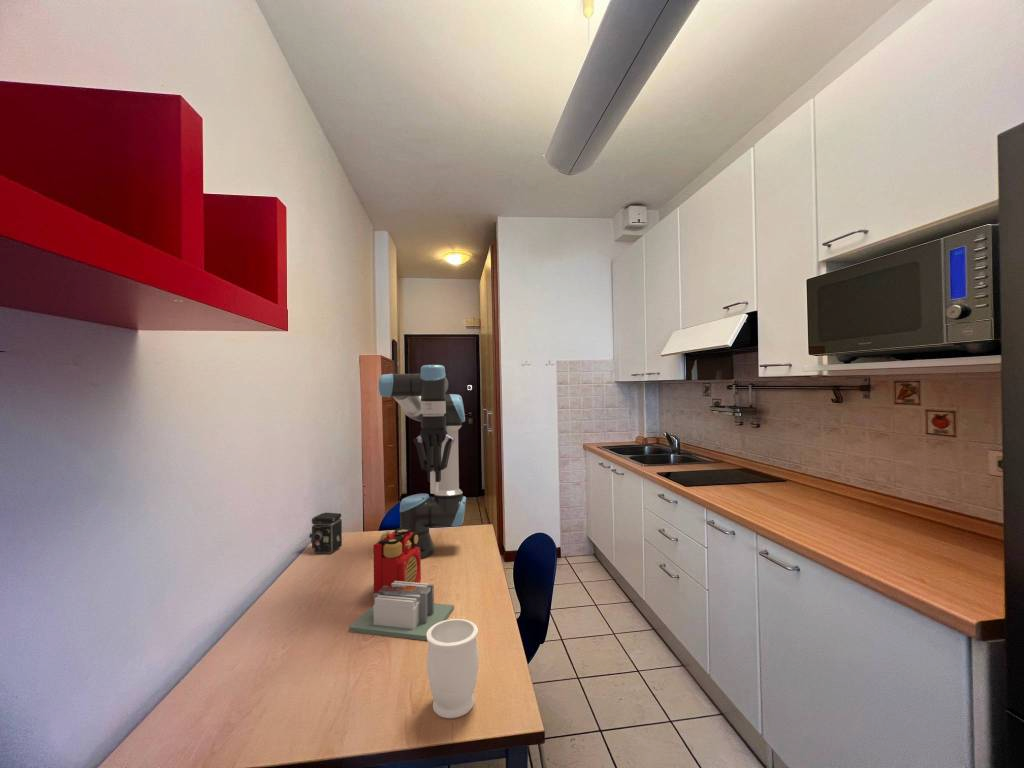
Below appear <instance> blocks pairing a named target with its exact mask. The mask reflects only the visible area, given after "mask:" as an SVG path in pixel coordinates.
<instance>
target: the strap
mask: <svg viewBox="0 0 1024 768" xmlns="http://www.w3.org/2000/svg"><path fill="white" fill-rule="evenodd" d="M421 591H422V592H427V594H428V593H429V592H430V591H431V587H417V586H406V587H383V588H382V589H380V590H379V591H378V592H379V593H381V595H383V594H389V595H420V592H421Z"/></svg>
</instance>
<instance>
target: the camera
mask: <svg viewBox="0 0 1024 768" xmlns="http://www.w3.org/2000/svg"><path fill="white" fill-rule="evenodd" d="M341 517H342V514H341V513H336V512H322V513H319V514H317V515H316V516H313V517H312V518H311V524H312V526H311V533H309V538H310V543H311V548H312V549H313V550H314V554H330V555H331V554H332V553H334V551H336V550H339V549H340V548H341V547H342V545H343V531H342V530H343V529H342V528H343V527H342V526H343V525H342V520H343V519H342V518H341Z"/></svg>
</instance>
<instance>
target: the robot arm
mask: <svg viewBox="0 0 1024 768" xmlns="http://www.w3.org/2000/svg"><path fill="white" fill-rule="evenodd" d="M448 389H449V381H448V378H447V377H446V368H445V366H444V365H441V364H425V365H422V366H421V367H420V373H388V374H385V373H384V374H381V375H380V376H379V380H378V393H379V395H380V396H381V397H383V398H393V399H394V400H395V402H397V403H398V405H399V406H400V408H401V409H400V410H401V411H402V413H403V414H404V415H405V416H407V417H408V418H409V419H412V420H414V421H417V422H420V427H421V431H420V433H419V435H418V436H417V437H415V438H413V439H412V442H413V444H414V445H415V447H416V450H417V455H418V456H417V457H418V458H419V464H420V468H421V469H422V470H424V471H426V472H427V482H428V483H430V485H429V487H430V488H429V490H430V491H429V492H430V494H432V495H433V496H434V497H430V495H429V494H428V493H416V494H412V495H408V496H406V497H404V498H402V499H401V501H400V504H399V520H400V521H399V528H410V529H411V531H410V532H415V533H418V543H417V545H416V546H415V547H420V554H421V560H422V559H426V558H428V557H430V556H433V554H434V553H435V546H434V542H433V540H432V539H433V538H432V537H431V532H430V528H440V527H441V528H442V527H443V528H444V527H446V528H447V527H452V528H453V527H460V526H461V525H463V523H464V519H465V512H466V511H465V510H466V505H467V504H466V502H467V497H466V496H464V495H463V491H462V489H460V482H459V481H460V478H459V477H460V469H459V463H460V462H459V430H460V429H461V427H462V426H463V425H462V424H463V423H464V422H466V417H465V408H464V402H463V398H462V396H461V395H460V394H455V393H453V394H452V393H446V392H447V391H448ZM424 444H425V446H424ZM425 449H426V451H425Z"/></svg>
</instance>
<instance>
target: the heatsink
mask: <svg viewBox="0 0 1024 768" xmlns="http://www.w3.org/2000/svg"><path fill="white" fill-rule="evenodd" d="M406 586H417V587H431V591H430V592H429V593H428V594H427V592H422V591H421V592H420V595H389V594H383V595H381V593H375V594H374V593H373V605H372V606H371V607H369V608H368V610H366V611H365V612H364V613H363V614H362V615H361V616H360V617H359V618H357V619H356V620H355V621H354V622H352V624H351V625H350V626H348V632H350V633H358V634H366V635H373V636H374V635H375V636H382V637H393V638H401V639H408V640H409V639H410V640H418V641H424V642H425V641H426V642H428V641H427V632H428V630H429V629H430V628H431V627H432V626H433V625H435V624H436V623H439V622H441V621H444V620H448V618H449V617H450V615H451V614H452V613H453V611H454V610H455V605H453V604H447V603H446V604H444V603H437V602H436V603H435V602H434V601H435V594H434V592H435V591H434V589H435V588H434V586H435V585H434V584H431V583H425V582H424V583H423V582H420V583H414V582H402V581H394V583H392V587H406ZM383 587H389V586H383ZM383 587H382V588H383Z"/></svg>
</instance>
